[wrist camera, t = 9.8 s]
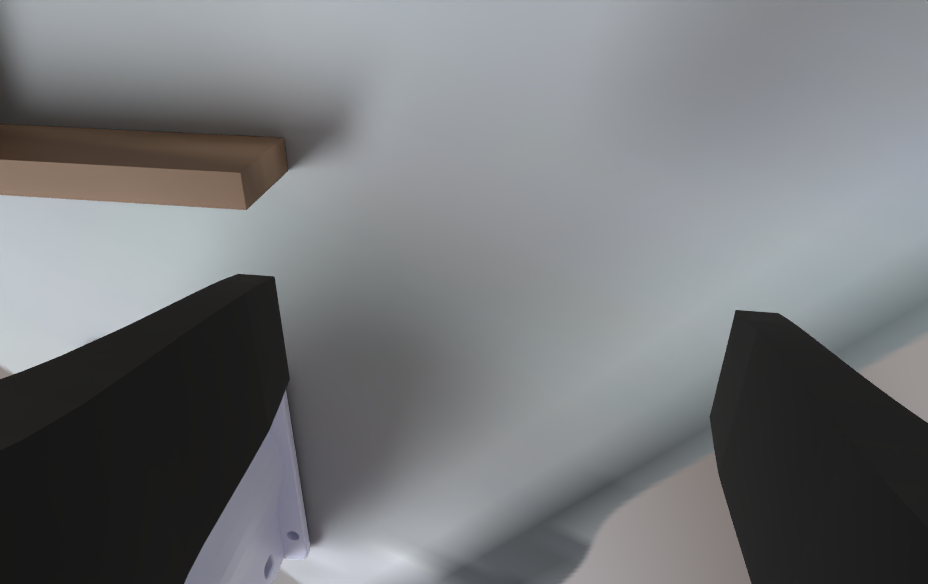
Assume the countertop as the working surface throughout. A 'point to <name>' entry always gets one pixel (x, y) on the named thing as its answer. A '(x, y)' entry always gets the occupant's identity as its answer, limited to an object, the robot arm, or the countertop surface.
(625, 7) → the countertop surface
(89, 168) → the comb rack
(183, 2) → the countertop surface
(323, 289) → the countertop surface
